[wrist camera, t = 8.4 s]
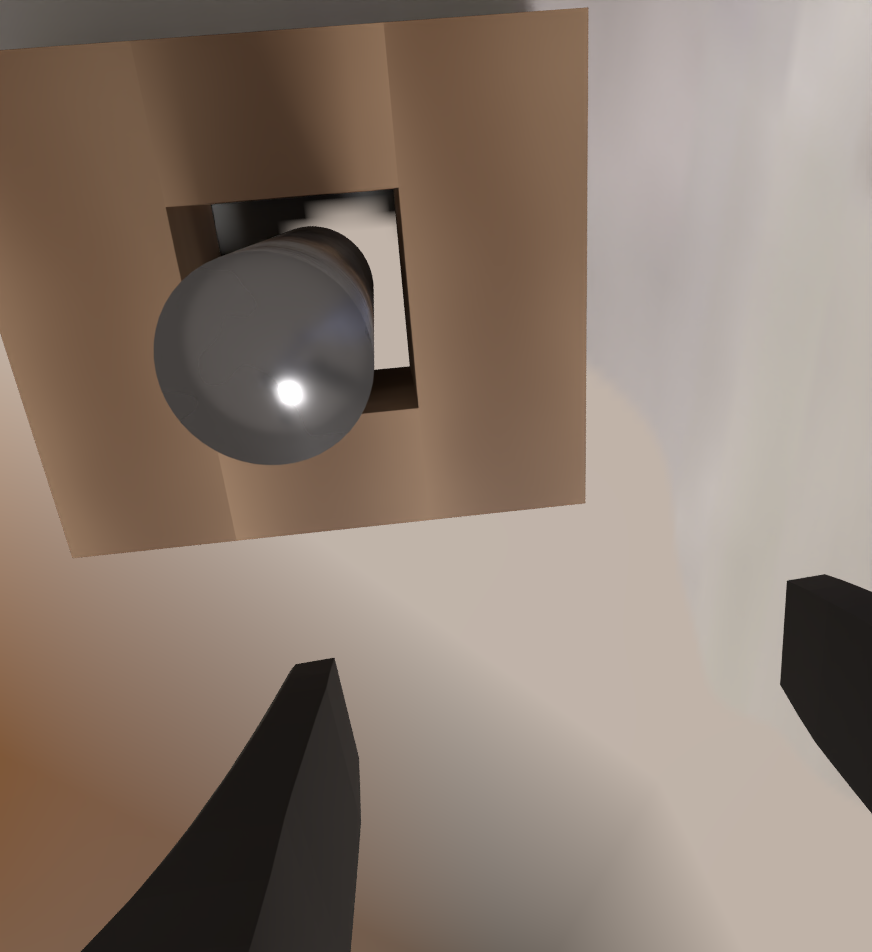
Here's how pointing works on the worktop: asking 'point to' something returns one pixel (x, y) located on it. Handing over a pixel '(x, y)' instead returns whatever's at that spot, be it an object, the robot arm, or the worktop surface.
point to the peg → (271, 347)
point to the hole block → (286, 176)
